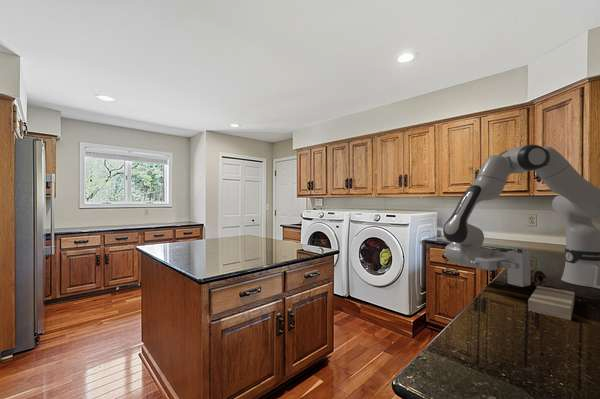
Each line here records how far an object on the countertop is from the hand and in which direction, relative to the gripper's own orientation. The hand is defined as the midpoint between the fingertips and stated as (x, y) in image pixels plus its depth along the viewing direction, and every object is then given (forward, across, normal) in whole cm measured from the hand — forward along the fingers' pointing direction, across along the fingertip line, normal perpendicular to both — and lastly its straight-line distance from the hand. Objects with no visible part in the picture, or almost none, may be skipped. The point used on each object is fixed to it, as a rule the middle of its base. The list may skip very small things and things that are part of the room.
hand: (521, 265), depth 106 cm
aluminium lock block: (-1, 0, +7) cm, 7 cm away
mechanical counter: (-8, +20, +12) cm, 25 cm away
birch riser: (+10, -1, +12) cm, 15 cm away
